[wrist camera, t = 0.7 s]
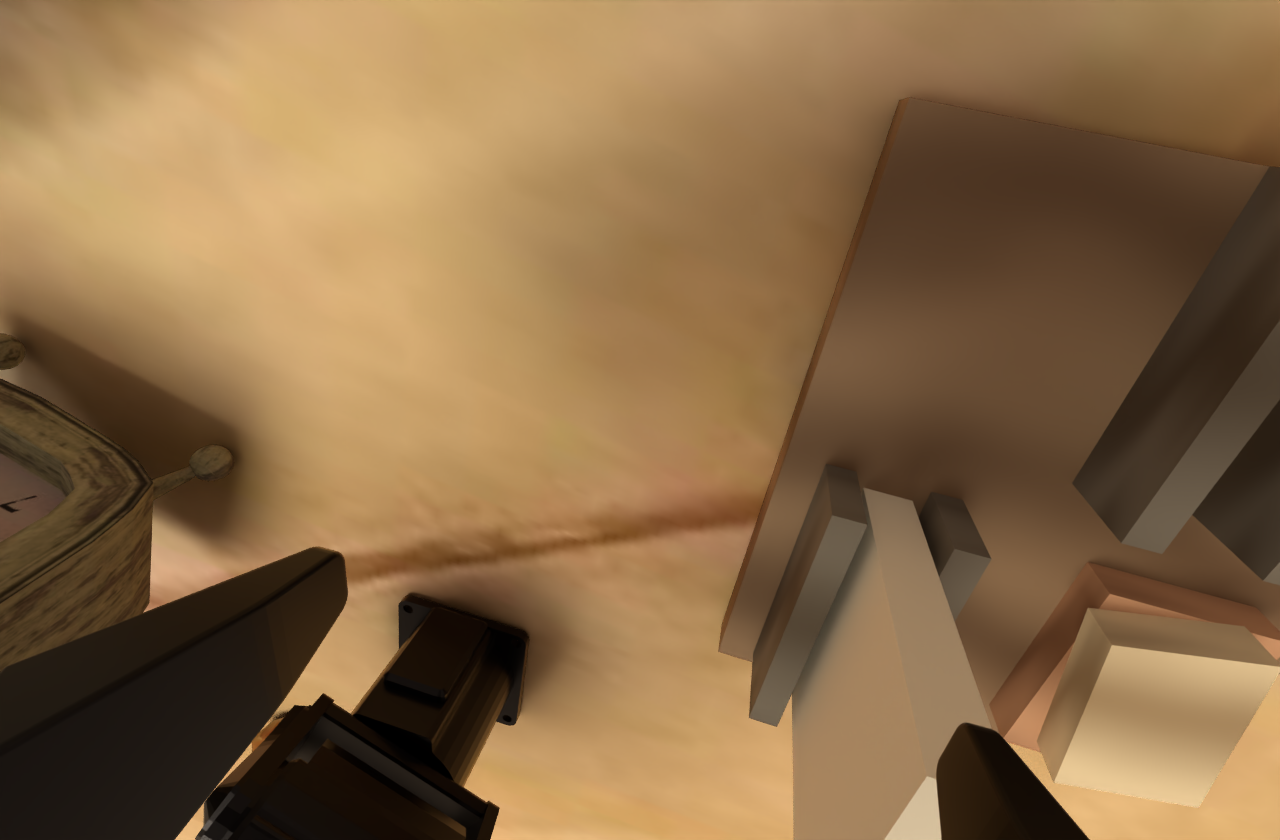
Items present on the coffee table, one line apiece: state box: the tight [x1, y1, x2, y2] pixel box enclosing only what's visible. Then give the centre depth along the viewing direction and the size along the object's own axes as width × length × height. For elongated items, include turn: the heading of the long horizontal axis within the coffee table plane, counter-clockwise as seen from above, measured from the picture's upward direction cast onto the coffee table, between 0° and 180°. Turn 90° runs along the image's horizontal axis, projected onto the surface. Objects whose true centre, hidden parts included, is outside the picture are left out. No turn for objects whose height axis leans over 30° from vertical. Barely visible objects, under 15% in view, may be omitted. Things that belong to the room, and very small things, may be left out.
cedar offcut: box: [989, 562, 1280, 752], centre depth 20 cm, size 7×5×2 cm
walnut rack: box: [718, 97, 1280, 733], centre depth 18 cm, size 20×17×4 cm
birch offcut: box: [1037, 608, 1280, 808], centre depth 18 cm, size 6×4×2 cm, turn 2°
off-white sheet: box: [792, 488, 992, 840], centre depth 17 cm, size 8×2×10 cm, turn 170°
